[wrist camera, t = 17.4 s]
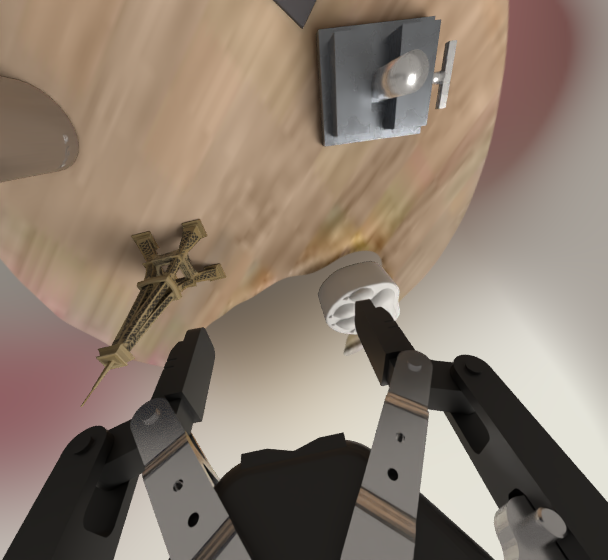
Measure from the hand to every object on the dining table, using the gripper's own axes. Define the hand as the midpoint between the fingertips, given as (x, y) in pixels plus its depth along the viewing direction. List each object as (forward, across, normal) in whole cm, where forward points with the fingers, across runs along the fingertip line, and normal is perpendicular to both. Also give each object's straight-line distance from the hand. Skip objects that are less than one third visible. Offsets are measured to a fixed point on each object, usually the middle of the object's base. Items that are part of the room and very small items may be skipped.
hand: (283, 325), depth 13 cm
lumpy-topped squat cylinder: (+27, -12, +19) cm, 35 cm away
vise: (+27, -15, -12) cm, 33 cm away
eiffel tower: (+28, +16, +8) cm, 33 cm away
